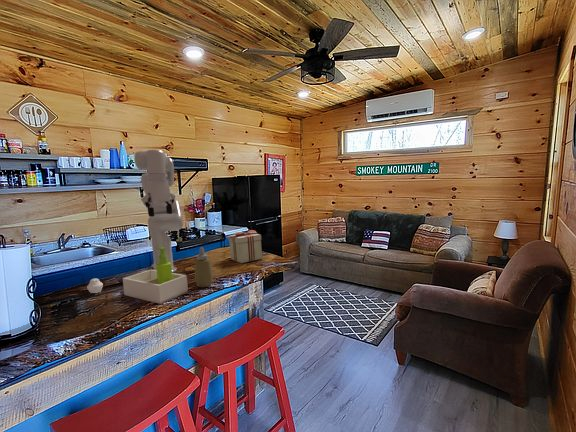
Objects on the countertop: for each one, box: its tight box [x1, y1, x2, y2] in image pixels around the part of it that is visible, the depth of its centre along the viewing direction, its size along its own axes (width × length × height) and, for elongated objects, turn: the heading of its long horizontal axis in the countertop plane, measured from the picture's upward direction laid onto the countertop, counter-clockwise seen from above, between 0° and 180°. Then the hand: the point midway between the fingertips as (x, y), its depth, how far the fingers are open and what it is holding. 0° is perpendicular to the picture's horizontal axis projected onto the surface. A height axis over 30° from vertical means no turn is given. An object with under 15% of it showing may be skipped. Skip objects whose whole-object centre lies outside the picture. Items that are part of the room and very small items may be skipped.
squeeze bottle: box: [194, 246, 214, 288], centre depth 139 cm, size 8×8×18 cm
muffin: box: [86, 278, 104, 294], centre depth 137 cm, size 6×6×7 cm
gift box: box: [225, 229, 263, 264], centre depth 184 cm, size 17×18×17 cm
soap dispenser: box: [155, 247, 173, 285], centre depth 129 cm, size 6×7×20 cm
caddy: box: [122, 269, 189, 305], centre depth 133 cm, size 24×14×8 cm, turn 60°
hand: (160, 215), depth 140 cm, fingers open, 9 cm apart
